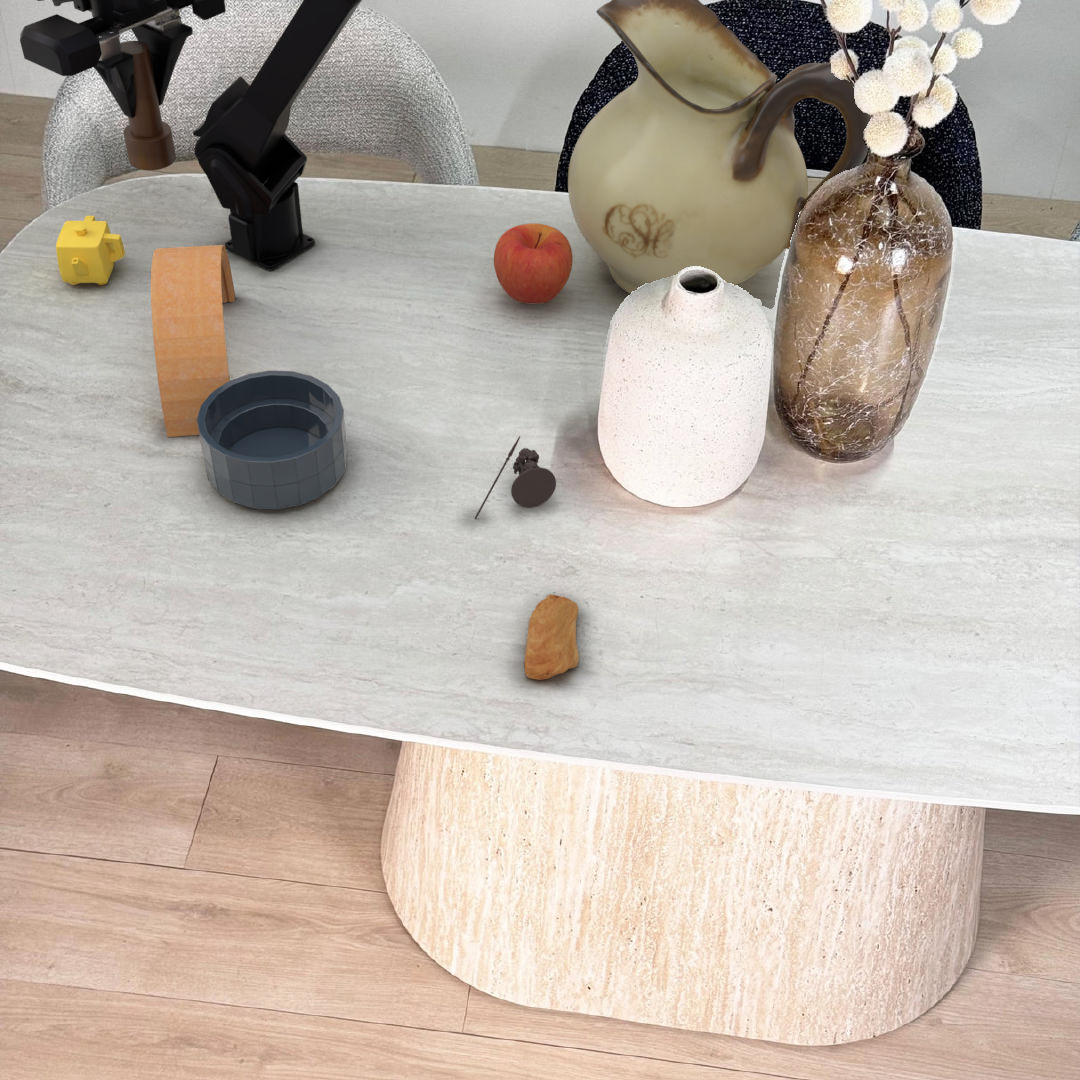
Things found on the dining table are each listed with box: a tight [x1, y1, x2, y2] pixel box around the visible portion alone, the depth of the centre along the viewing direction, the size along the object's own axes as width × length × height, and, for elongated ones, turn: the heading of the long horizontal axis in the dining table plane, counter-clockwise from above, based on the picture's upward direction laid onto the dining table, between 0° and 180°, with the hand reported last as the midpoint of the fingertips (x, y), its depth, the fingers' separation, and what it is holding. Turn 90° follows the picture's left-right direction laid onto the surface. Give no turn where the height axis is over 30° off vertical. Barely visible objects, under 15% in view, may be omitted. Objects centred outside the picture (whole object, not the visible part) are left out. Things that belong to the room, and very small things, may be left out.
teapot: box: [55, 215, 126, 286], centre depth 119 cm, size 8×6×5 cm
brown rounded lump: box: [523, 594, 580, 681], centre depth 90 cm, size 8×2×5 cm
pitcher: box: [567, 0, 871, 295], centre depth 117 cm, size 22×24×25 cm
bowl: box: [197, 370, 349, 510], centre depth 101 cm, size 11×11×6 cm
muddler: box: [120, 40, 177, 171], centre depth 118 cm, size 4×4×11 cm
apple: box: [493, 222, 574, 305], centre depth 118 cm, size 7×7×8 cm
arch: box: [150, 244, 236, 438], centre depth 109 cm, size 6×20×10 cm, turn 9°
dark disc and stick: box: [474, 435, 557, 520], centre depth 101 cm, size 5×8×4 cm
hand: (143, 110), depth 119 cm, fingers closed on muddler, 3 cm apart
